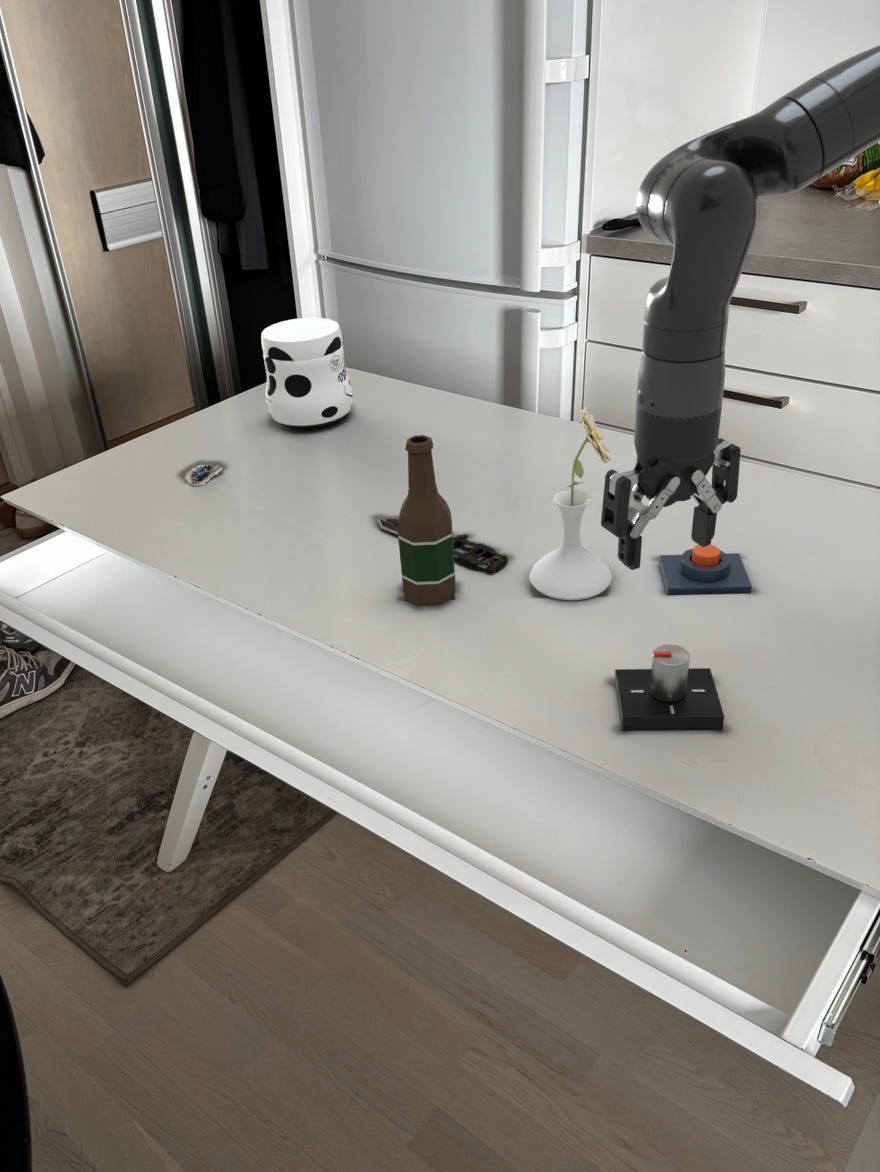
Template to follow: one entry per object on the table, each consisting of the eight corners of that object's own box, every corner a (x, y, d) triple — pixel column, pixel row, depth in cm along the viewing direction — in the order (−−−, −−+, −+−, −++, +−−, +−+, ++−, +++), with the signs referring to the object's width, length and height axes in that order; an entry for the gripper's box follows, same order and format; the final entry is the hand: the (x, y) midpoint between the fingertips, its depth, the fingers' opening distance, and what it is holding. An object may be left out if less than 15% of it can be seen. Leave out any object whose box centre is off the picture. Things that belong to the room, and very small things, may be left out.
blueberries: (228, 467, 181) (226, 458, 180) (214, 486, 175) (212, 477, 174) (193, 467, 182) (191, 458, 181) (178, 486, 176) (176, 477, 175)
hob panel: (707, 688, 117) (710, 666, 115) (721, 737, 109) (724, 715, 108) (613, 689, 118) (615, 668, 116) (621, 737, 111) (622, 716, 109)
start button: (716, 554, 136) (717, 543, 135) (721, 567, 133) (722, 556, 132) (689, 555, 136) (690, 544, 135) (693, 568, 133) (695, 557, 132)
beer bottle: (417, 579, 143) (404, 424, 129) (466, 588, 140) (458, 430, 126) (393, 607, 137) (377, 447, 124) (444, 617, 134) (433, 454, 120)
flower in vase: (594, 615, 131) (602, 441, 117) (516, 598, 136) (514, 429, 122) (626, 569, 141) (636, 402, 126) (552, 554, 146) (554, 393, 131)
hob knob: (683, 680, 113) (687, 641, 110) (688, 702, 110) (692, 662, 107) (647, 681, 114) (650, 642, 111) (652, 702, 111) (655, 663, 108)
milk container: (372, 413, 198) (363, 323, 187) (309, 442, 188) (296, 349, 178) (315, 396, 208) (303, 311, 198) (252, 423, 198) (236, 334, 188)
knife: (371, 526, 158) (370, 519, 157) (401, 512, 161) (400, 504, 160) (482, 580, 141) (482, 572, 140) (513, 563, 144) (513, 555, 144)
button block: (737, 563, 140) (740, 541, 138) (750, 597, 132) (753, 574, 130) (658, 565, 141) (660, 543, 139) (667, 598, 133) (669, 576, 131)
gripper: (638, 430, 83) (628, 591, 93) (770, 393, 88) (748, 551, 97) (589, 403, 89) (584, 558, 98) (715, 370, 94) (699, 521, 103)
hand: (666, 554), depth 98 cm, fingers open, 8 cm apart
